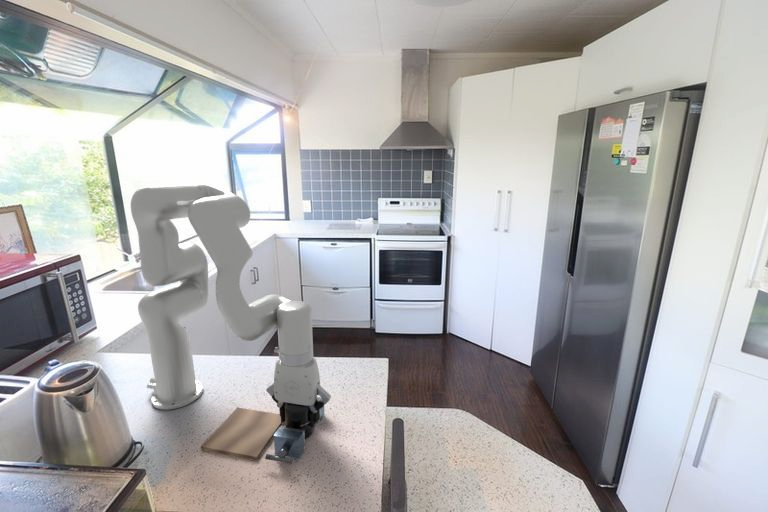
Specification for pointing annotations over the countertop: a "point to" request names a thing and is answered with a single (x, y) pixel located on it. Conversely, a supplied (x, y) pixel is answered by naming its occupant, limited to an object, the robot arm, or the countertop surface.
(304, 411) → the supplement bottle
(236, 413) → the walnut board
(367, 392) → the countertop surface
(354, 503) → the countertop surface
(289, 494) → the countertop surface
